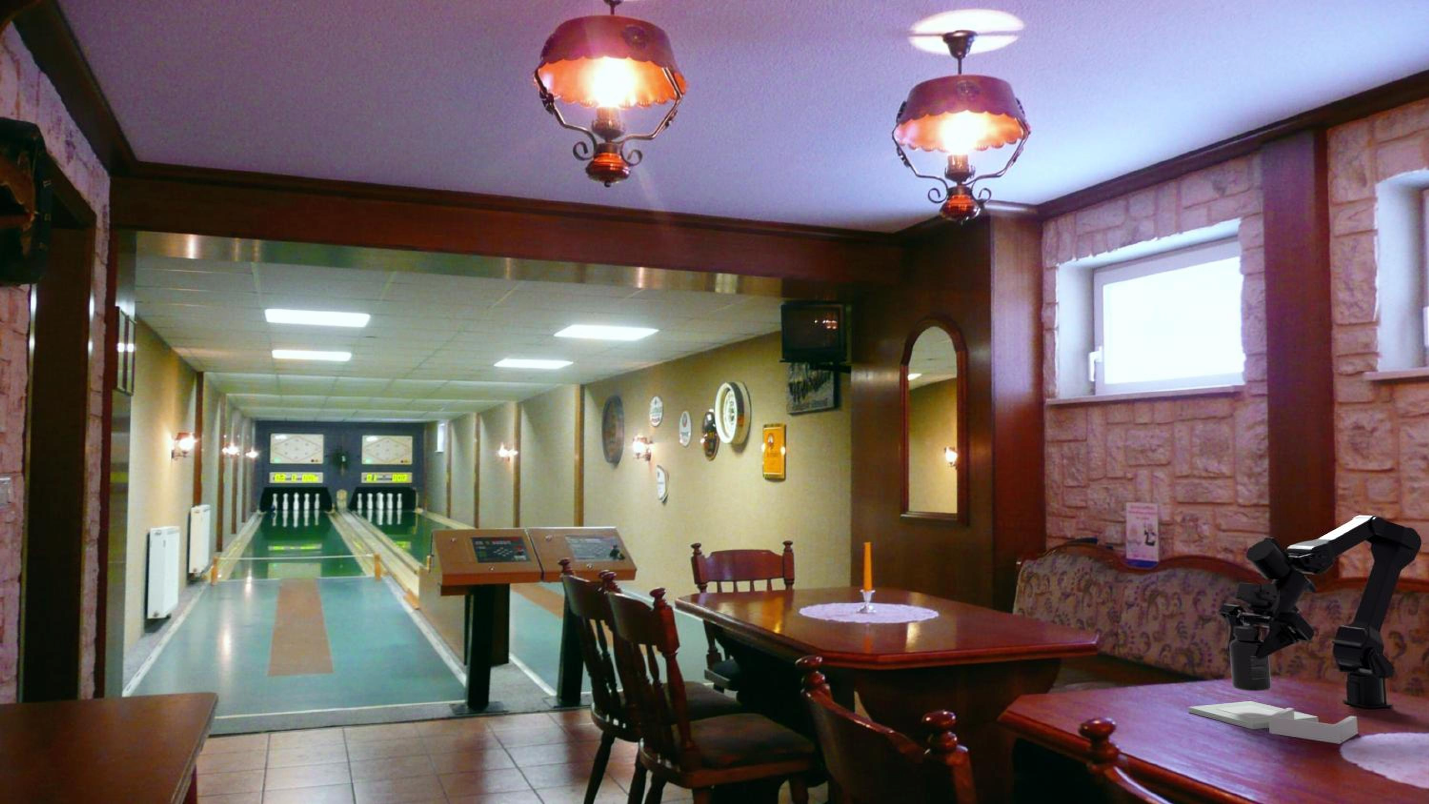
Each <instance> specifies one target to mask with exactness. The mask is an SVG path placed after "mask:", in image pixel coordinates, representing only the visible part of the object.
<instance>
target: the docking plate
mask: <svg viewBox="0 0 1429 804" xmlns="http://www.w3.org/2000/svg"><path fill="white" fill-rule="evenodd" d="M1284 709H1285V708H1283V707H1278V706H1273V705H1269V704H1265V703H1261V702H1257V701H1252V700H1248V701H1247V700H1246V701H1238V702H1228V703H1227V702H1226V703H1216V704H1208V705H1207V704H1206V705H1196V706H1188V713H1190V714H1195V715H1198V716H1202V717H1205V718H1208V719H1209V718H1210V719H1213V720H1217V721H1220V722H1224V723H1227V724H1232V725H1236V726H1240V727H1243V728H1247V729H1249V730H1260V729H1269V716H1271V715H1273V714H1275V713H1277V712H1280V711H1282V710H1284ZM1294 719H1298V720H1305V721H1312V722H1319V717H1318V716H1316V715H1311V714H1307V713H1303V712H1300V711H1296V710H1294Z"/></svg>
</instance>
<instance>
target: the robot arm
mask: <svg viewBox="0 0 1429 804" xmlns="http://www.w3.org/2000/svg"><path fill="white" fill-rule="evenodd" d="M1351 519H1352V520H1349V521H1348V522H1347V523H1345V524H1343V525H1341V526H1339V527H1338V528H1336V529H1334V530H1331V531H1330V532H1328V533H1327V534H1324V535H1323V536H1320V537H1319V538H1316V539H1313V540H1312V539H1311V540H1306V541H1301V542H1298V543H1294V544H1291V545H1289V546H1288V547H1287V548H1286V549H1285V550H1284V548H1283V547H1282V546H1281V544H1280V543H1279V541H1278V540H1277V539H1276V538H1275V537H1271V536H1269V537H1268V536H1265V538H1264V539H1263V540H1261V541H1258V542H1257V543H1254V544H1253V545H1252V546H1250V547H1249V548H1248V549H1247V551H1246V554H1245V556H1246V557H1245V558H1246V559H1247V560H1248V561H1249V562H1250V563H1251V564H1252V566H1253V567H1254V568H1255V569H1256V570H1257V571H1258V572H1259V574H1260V575H1261V576H1262V577H1264V579H1266V580H1272V582H1271V583H1269V582H1264V583H1263V584H1262V585H1261V584H1256V583H1247V582H1238V585H1237V588H1236V591H1235V596H1234V598H1235V599H1237V600H1240V601H1243V602H1245V603H1247V605H1246V607H1247V608H1248V609H1249V611H1252V613H1249V612H1247V611H1246V610H1245V609H1244V608H1243V606H1241V605H1236V604H1229V603H1227V604H1222V605H1221V607H1220V609H1219V610H1218V611H1217V612H1218V614H1219V616H1220V617H1221V618H1222V619H1223V620H1224V621H1225V622H1226V623H1227V624H1228V625H1229V627H1230V633H1229V639H1228V644H1227V650H1226V651H1227V652H1228V653H1229V654H1230V646H1229V645H1230V643H1231V641H1233V640H1234V639H1235V636H1234V626H1259V627H1260V626H1261V627H1263V628H1268V632H1267V634H1266V636H1265V638H1264V640H1262V641H1263V643H1262V645H1261V646H1260V648H1259V650H1258V653H1257V657H1258V658H1259V659H1262V658H1264V657H1266V656H1268V655H1269V656H1270V655H1272V654H1275V653H1276V652H1278V651H1280V650H1282V649H1285V648H1287V647H1289V646H1292V645H1295V644H1296V645H1297V644H1298V643H1300V642H1303V643H1304V642H1305V643H1310V642H1311V641H1312V639H1313V637H1314V636H1315V629H1314V627H1312V625H1311V624H1310V623H1309V621H1308V620H1307V619H1306V618H1305V617H1304V616H1303V615H1302V614H1301V613H1299V608H1298V607H1297V604H1298V602H1299V601H1300V599H1301V598H1302V597H1303V595H1304V593H1305V594H1306V593H1308V594H1316V593H1317V590H1316V586H1315V585H1314V580H1313V579H1308V577H1307V576H1306V575H1305V574H1309V575H1322V574H1324V573H1326V572H1327V571H1328V570H1329V569H1330V568H1331V567H1333V566H1334V564H1335V563H1336V562H1335V561H1336V558H1338V557H1339V556H1340V555H1342V554H1343V553H1346V552H1347V551H1349V550H1351V549H1353V548H1355V547H1357V546H1358V545H1360V544H1361V543H1363V542H1366V543H1368V544H1370V546H1369V547H1370V548H1369V550H1370V552H1371V556H1372V558H1373V559H1372V560H1373V565H1372V567H1371V570H1370V573H1369V575H1368V578H1367V581H1366V583H1365V584H1366V585H1365V588H1364V589H1363V590H1364V591H1363V593H1362V595H1361V598H1360V601H1359V604H1358V607H1357V609H1356V612H1355V616H1354V618H1353V620H1352V622H1351V623H1350V624H1349V625H1348V626H1345V625H1339V626H1338V627H1337V629H1336V634H1335V637H1334V639H1333V640H1332V642H1331V644H1333V645H1332V655H1333V658H1334V660H1335V662H1336V665H1337V668H1338V672H1340V673H1346V679H1347V680H1346V681H1345V687H1346V689H1345V690H1346V699H1342V703H1345V704H1348V705H1352V706H1357V707H1359V708H1364V709H1375V708H1376V709H1379V708H1392V707H1394V704H1393V703H1390V702H1389V703H1388V702H1387V689H1386V688H1387V687H1386V679H1389V678H1393V677H1394V672H1395V666H1394V664H1392V663H1391V662H1390V660H1389V659H1388V658H1387V657H1386V656H1385V654H1384V650H1385V644H1384V641H1383V638H1382V637H1383V636H1382V634H1381V630H1382V627H1383V624H1384V621H1385V618H1386V615H1387V613H1388V609H1389V606H1390V604H1391V602H1392V599H1393V595H1394V592H1395V589H1396V586H1397V584H1398V580H1399V578H1400V575H1401V572H1402V570H1403V569H1405V568H1406V567H1407V566H1408V565H1410V564H1411V563H1412V562H1414V561H1415V559H1416V557H1417V555H1418V554H1419V552H1420V549H1421V547H1422V538H1421V535H1420V534H1419V533H1418V532H1417V530H1416V529H1414V528H1412V527H1409V526H1408V527H1407V526H1404V525H1401V524H1398V523H1394V522H1392V521H1388V520H1387V519H1385V518H1383V517H1380V516H1378V515H1369V514H1368V515H1365V514H1364V515H1363V514H1361V515H1360V514H1359V515H1356V516H1354V517H1353V518H1351Z"/></svg>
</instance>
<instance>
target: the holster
mask: <svg viewBox="0 0 1429 804" xmlns="http://www.w3.org/2000/svg"><path fill="white" fill-rule="evenodd" d="M1283 709H1284V710H1282V711H1280V712H1277V713H1275V714H1273V715H1271V716H1269V728H1268V731H1269V734H1273V735H1279V736H1285V737H1286V736H1287V737H1294V738H1299V739H1305V740H1312V741H1317V742H1325V743H1331V744H1338V745H1340V744H1342V743H1344V742H1345V741H1347V740H1349V739H1350V738H1353V737H1354V736H1356V735H1357V734H1358V731H1359V730H1358V720H1357V719H1358V718H1357V716H1353V715H1350V716H1348V717H1345V718H1343V719H1342V720H1341V721H1338V722H1336V723H1333V724H1332V723H1327V722H1326V723H1325V722H1319V721H1318V722H1312V721H1305V720H1298V719H1294V711H1295V709H1294V708H1293V707H1287V708H1283Z"/></svg>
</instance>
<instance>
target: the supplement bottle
mask: <svg viewBox="0 0 1429 804" xmlns="http://www.w3.org/2000/svg"><path fill="white" fill-rule="evenodd" d="M1261 630H1262V629H1261V627H1260V626H1259V625H1254V626H1234V636H1235V639H1234V640H1233V641H1231V643H1230V645H1229V646H1230V653H1229V657H1230V670H1231V671H1230V672H1231V681H1232V686H1233V688H1234V689H1237V690H1240V691H1246V692H1247V691H1249V692H1254V691H1255V692H1263V691H1269V690H1270V689H1271V688H1272V681H1271V680H1272V679H1271V670H1270V669H1271V667H1270V659H1269V658H1270V657H1269V656H1270V655H1268V656H1266V657H1264V658H1262V659H1259V658H1258V657H1257V653H1258V650H1259V648H1260V646H1261V645H1262V643H1263V641H1264V640H1262V639H1261V638H1262V631H1261Z"/></svg>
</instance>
